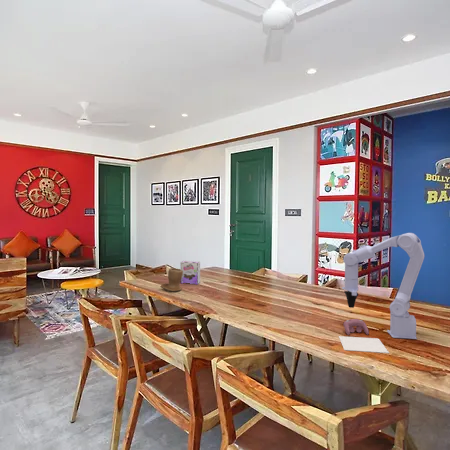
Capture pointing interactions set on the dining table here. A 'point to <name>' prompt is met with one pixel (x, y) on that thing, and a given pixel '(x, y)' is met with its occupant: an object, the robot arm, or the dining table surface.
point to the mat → (362, 344)
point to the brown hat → (173, 280)
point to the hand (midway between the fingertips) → (351, 307)
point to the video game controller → (355, 322)
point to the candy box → (190, 272)
